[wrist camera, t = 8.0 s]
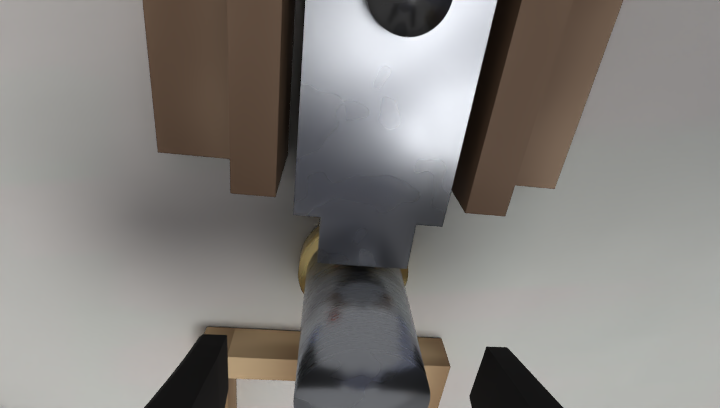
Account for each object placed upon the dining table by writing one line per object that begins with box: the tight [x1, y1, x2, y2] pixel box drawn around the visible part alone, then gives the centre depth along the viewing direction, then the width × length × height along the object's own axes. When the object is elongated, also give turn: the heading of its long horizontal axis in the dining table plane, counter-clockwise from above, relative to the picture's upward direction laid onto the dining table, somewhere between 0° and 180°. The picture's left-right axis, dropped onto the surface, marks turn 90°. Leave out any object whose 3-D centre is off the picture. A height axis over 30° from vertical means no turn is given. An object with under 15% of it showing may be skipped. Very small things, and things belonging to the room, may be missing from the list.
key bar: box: [293, 0, 497, 269], centre depth 11 cm, size 4×10×4 cm, turn 173°
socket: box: [143, 0, 623, 216], centre depth 11 cm, size 13×8×4 cm, turn 83°
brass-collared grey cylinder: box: [294, 226, 430, 408], centre depth 14 cm, size 4×4×6 cm
